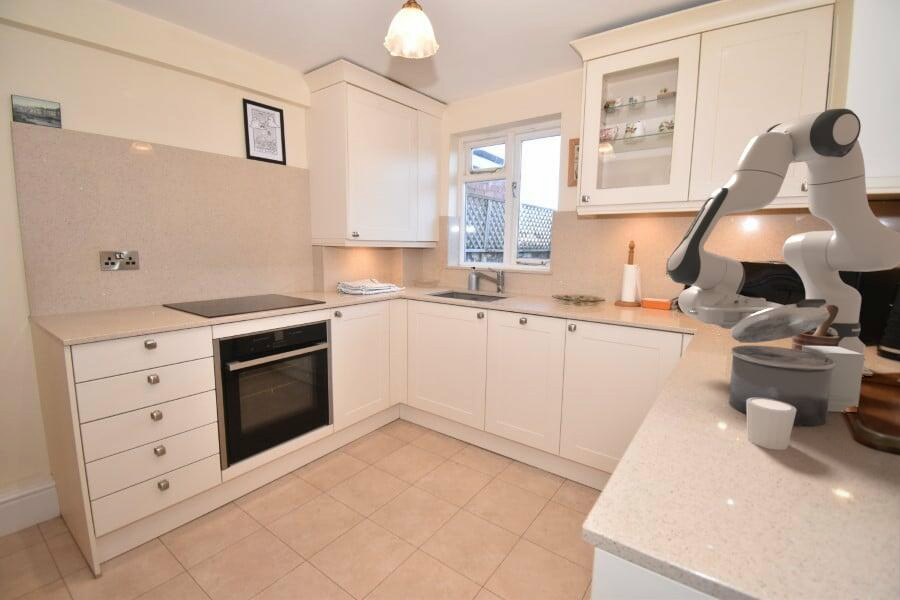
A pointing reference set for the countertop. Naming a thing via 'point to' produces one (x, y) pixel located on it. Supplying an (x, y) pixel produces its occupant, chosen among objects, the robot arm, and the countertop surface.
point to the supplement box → (842, 375)
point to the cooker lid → (781, 322)
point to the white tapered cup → (769, 422)
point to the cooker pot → (782, 380)
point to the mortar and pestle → (818, 333)
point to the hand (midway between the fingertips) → (769, 321)
